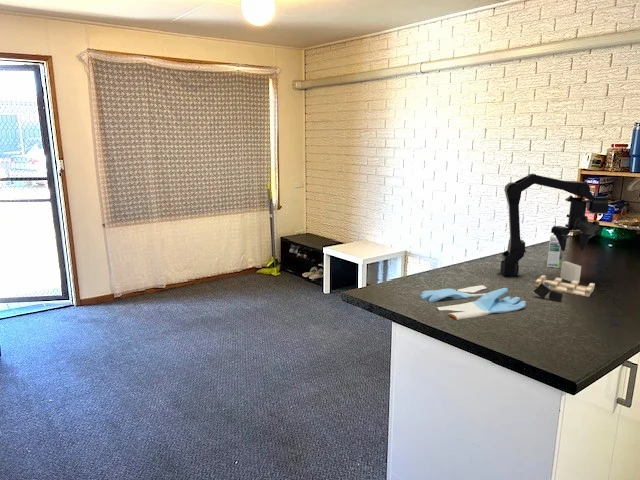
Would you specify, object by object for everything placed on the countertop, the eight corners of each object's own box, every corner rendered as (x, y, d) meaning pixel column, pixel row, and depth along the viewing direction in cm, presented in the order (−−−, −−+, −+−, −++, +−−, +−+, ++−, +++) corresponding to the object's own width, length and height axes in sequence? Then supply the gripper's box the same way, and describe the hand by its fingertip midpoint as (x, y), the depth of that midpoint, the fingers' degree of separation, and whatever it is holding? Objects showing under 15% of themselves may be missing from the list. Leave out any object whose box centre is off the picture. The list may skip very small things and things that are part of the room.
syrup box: (546, 266, 213) (550, 236, 210) (547, 264, 218) (550, 233, 215) (560, 268, 210) (564, 237, 207) (560, 265, 215) (564, 235, 212)
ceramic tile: (574, 283, 188) (576, 266, 187) (560, 277, 196) (561, 261, 194) (579, 282, 189) (581, 266, 187) (565, 277, 196) (567, 261, 195)
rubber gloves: (410, 295, 173) (411, 279, 172) (481, 286, 184) (483, 271, 183) (456, 321, 148) (457, 302, 147) (535, 309, 159) (537, 291, 158)
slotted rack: (588, 296, 171) (589, 291, 171) (534, 286, 183) (534, 281, 182) (594, 289, 180) (594, 283, 180) (541, 280, 192) (542, 275, 191)
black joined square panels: (554, 305, 169) (565, 294, 166) (554, 307, 167) (565, 296, 164) (534, 289, 172) (544, 278, 169) (533, 291, 170) (543, 280, 168)
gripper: (573, 216, 177) (568, 256, 180) (612, 215, 182) (607, 253, 185) (552, 212, 188) (548, 249, 191) (590, 211, 192) (585, 247, 196)
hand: (572, 250), depth 190 cm, fingers open, 9 cm apart
